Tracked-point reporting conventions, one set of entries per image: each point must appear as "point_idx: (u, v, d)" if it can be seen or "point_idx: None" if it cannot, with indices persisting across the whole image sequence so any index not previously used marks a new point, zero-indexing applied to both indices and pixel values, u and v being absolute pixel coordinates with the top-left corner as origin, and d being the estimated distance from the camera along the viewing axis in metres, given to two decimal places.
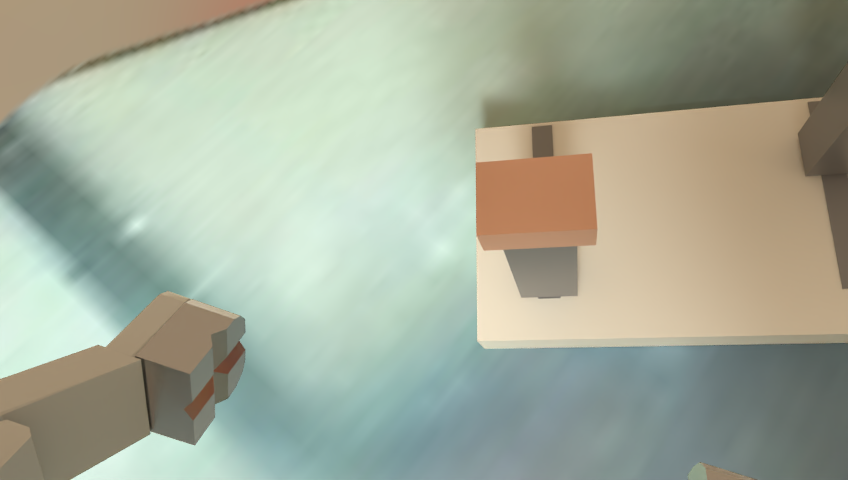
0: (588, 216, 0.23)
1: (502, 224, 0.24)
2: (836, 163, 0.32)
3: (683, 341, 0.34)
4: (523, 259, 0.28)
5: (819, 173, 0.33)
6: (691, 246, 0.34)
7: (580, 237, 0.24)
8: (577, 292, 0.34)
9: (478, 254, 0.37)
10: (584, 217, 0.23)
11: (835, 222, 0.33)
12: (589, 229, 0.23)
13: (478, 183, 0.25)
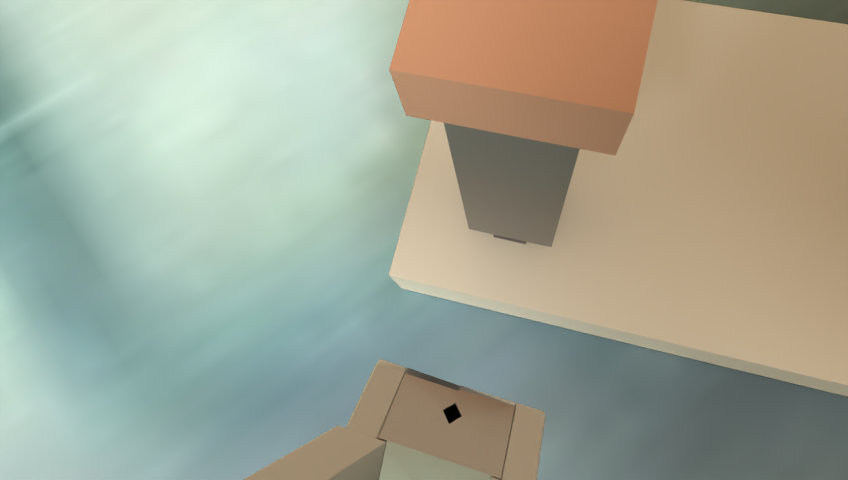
0: (622, 83, 0.11)
1: (446, 59, 0.12)
2: None
3: (684, 351, 0.23)
4: (478, 158, 0.16)
5: None
6: (738, 218, 0.23)
7: (592, 128, 0.12)
8: (552, 241, 0.22)
9: (425, 151, 0.25)
10: (613, 84, 0.11)
11: None
12: (617, 111, 0.11)
13: None
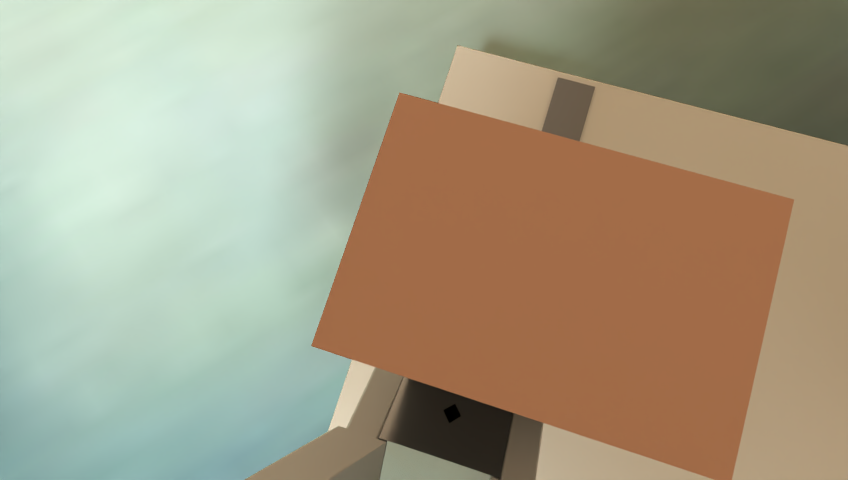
0: (711, 424, 0.06)
1: (410, 339, 0.07)
2: None
3: None
4: None
5: None
6: (765, 405, 0.18)
7: None
8: None
9: None
10: (697, 423, 0.06)
11: None
12: None
13: (382, 166, 0.07)
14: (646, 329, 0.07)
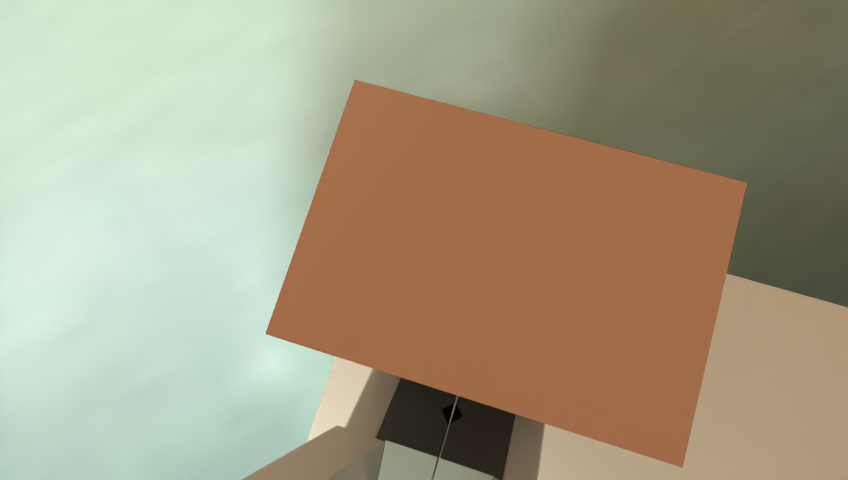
0: (664, 406, 0.06)
1: (363, 326, 0.07)
2: None
3: None
4: None
5: None
6: None
7: None
8: None
9: (312, 436, 0.19)
10: (649, 407, 0.06)
11: None
12: None
13: (337, 153, 0.07)
14: (599, 313, 0.07)
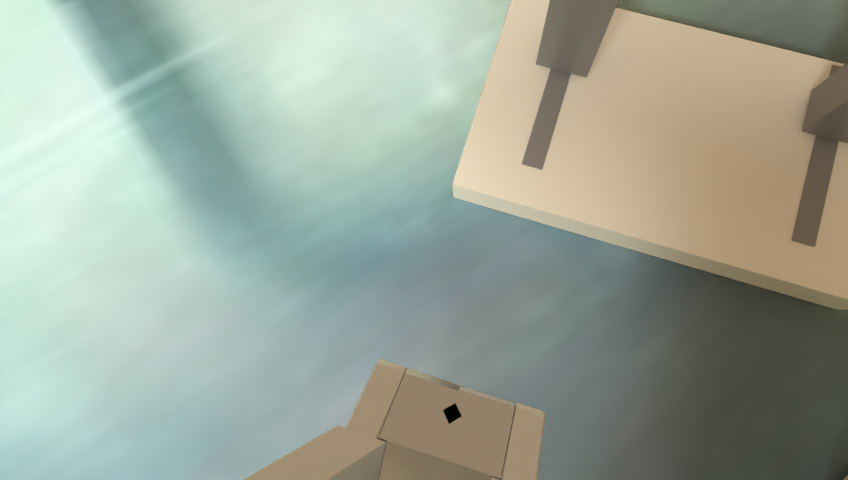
0: None
1: None
2: (835, 127, 0.34)
3: (635, 244, 0.37)
4: None
5: (815, 132, 0.35)
6: (676, 161, 0.36)
7: None
8: None
9: (479, 105, 0.37)
10: None
11: (809, 181, 0.35)
12: None
13: None
14: None
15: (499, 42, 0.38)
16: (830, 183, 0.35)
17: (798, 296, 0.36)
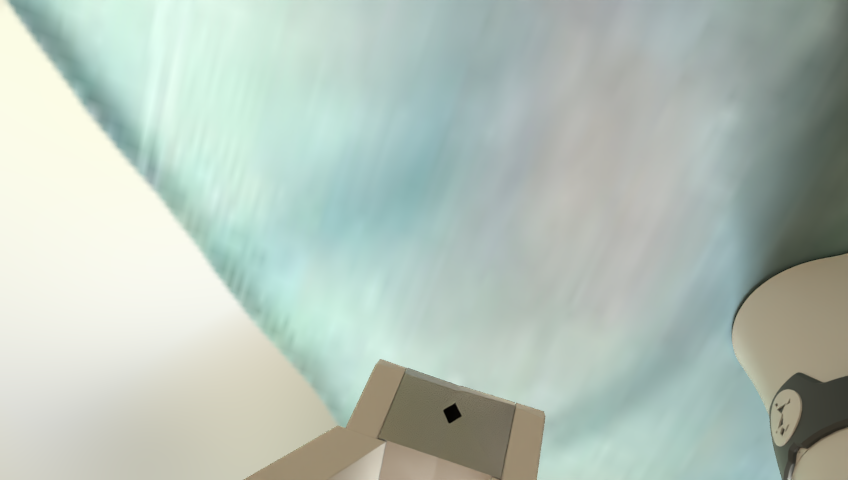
0: None
1: None
2: None
3: None
4: None
5: None
6: None
7: None
8: None
9: None
10: None
11: None
12: None
13: None
14: None
15: None
16: None
17: None
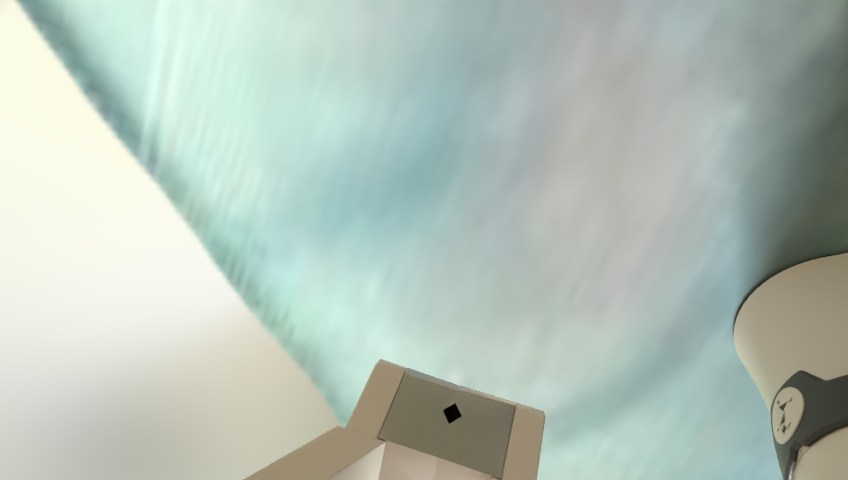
0: None
1: None
2: None
3: None
4: None
5: None
6: None
7: None
8: None
9: None
10: None
11: None
12: None
13: None
14: None
15: None
16: None
17: None
